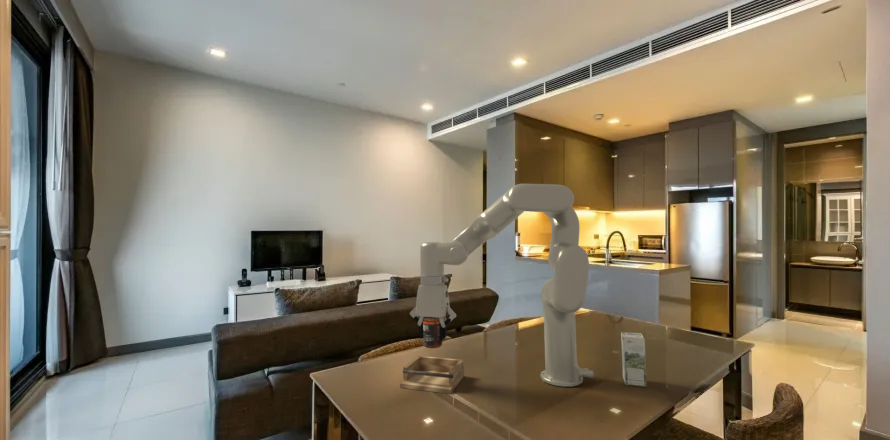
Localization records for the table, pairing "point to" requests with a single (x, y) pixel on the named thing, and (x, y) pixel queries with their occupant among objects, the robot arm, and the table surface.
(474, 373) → the table surface
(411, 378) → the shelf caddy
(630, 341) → the syrup box
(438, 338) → the supplement bottle
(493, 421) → the table surface
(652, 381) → the table surface
